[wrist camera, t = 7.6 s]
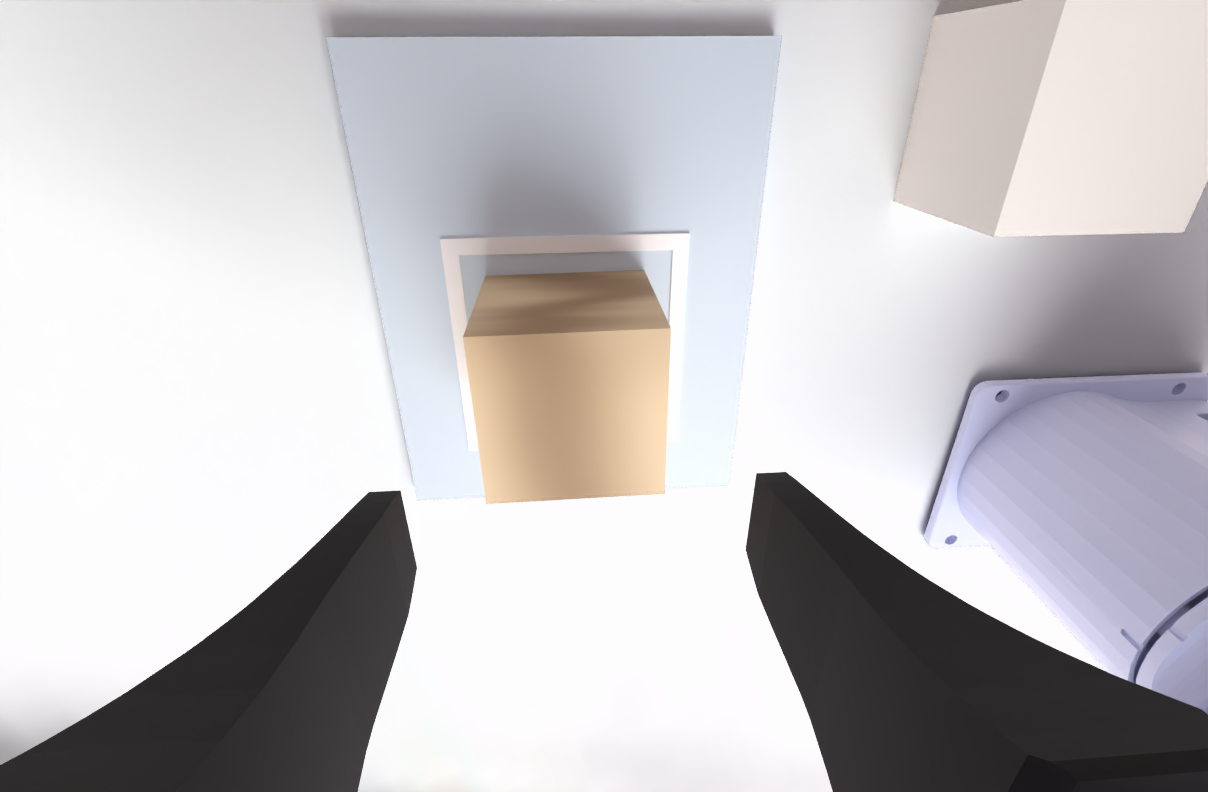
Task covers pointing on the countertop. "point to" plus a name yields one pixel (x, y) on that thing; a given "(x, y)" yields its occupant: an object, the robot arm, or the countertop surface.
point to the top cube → (1062, 118)
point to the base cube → (569, 385)
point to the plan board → (559, 208)
